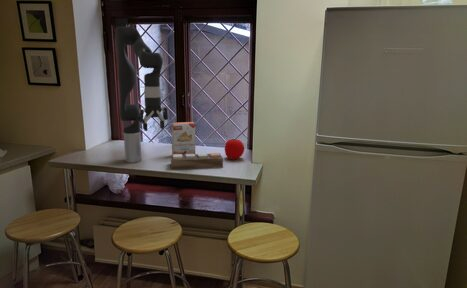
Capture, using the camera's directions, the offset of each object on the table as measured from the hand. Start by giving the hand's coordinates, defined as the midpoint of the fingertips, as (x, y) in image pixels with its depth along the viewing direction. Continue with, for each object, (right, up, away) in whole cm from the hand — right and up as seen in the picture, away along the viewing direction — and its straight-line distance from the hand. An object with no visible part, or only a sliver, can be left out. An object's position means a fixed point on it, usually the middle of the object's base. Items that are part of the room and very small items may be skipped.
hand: (153, 129), depth 161 cm
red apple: (+39, -16, +43) cm, 60 cm away
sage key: (+21, -16, +29) cm, 39 cm away
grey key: (+14, -16, +27) cm, 35 cm away
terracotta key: (+28, -16, +30) cm, 44 cm away
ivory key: (+7, -16, +26) cm, 31 cm away
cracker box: (+7, -14, +49) cm, 52 cm away
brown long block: (+18, -19, +29) cm, 39 cm away
